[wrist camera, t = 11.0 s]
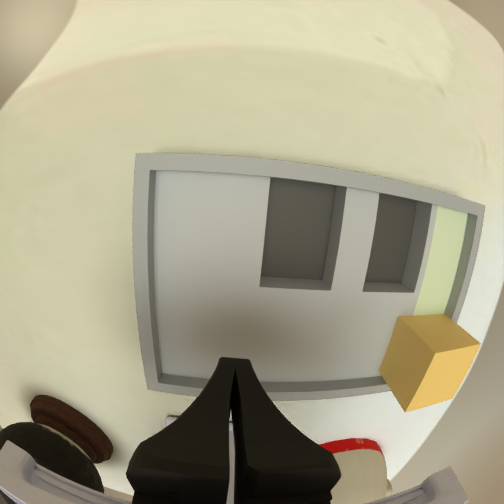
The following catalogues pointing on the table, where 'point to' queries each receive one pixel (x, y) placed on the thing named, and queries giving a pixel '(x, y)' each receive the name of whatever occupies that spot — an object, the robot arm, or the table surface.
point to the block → (427, 360)
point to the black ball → (61, 442)
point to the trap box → (288, 270)
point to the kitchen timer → (359, 471)
